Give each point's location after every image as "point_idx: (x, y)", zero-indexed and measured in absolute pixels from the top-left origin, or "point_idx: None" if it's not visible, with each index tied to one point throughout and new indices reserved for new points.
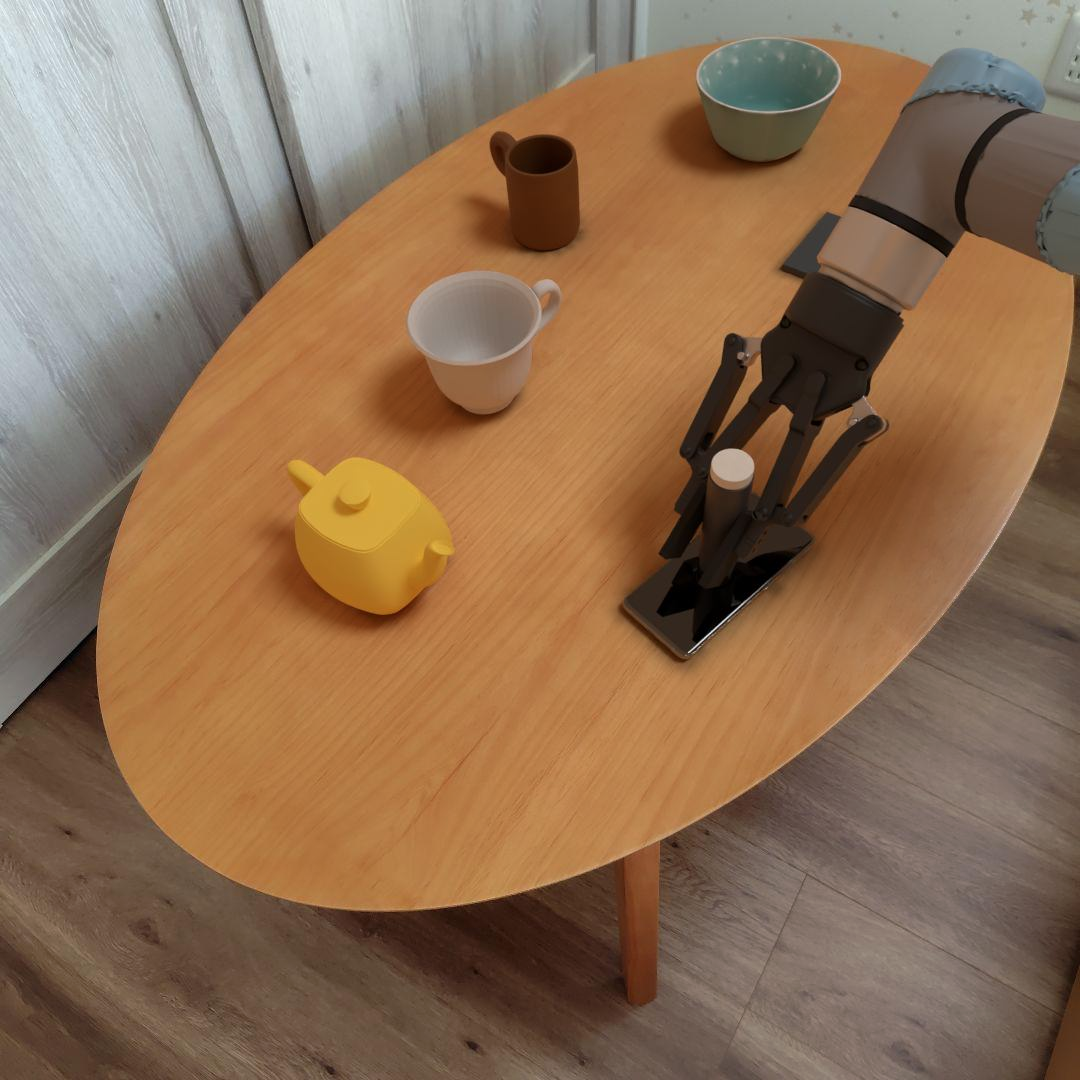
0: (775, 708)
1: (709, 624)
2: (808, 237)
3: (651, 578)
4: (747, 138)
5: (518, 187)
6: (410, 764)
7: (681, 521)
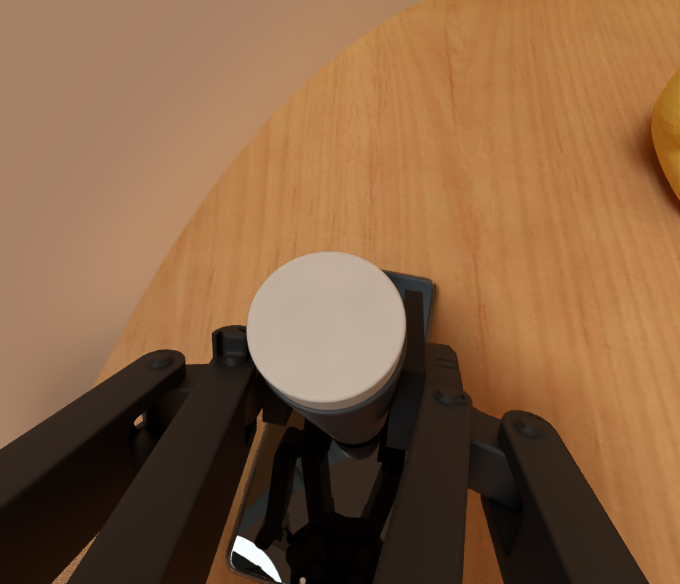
0: (201, 276)
1: None
2: None
3: (425, 333)
4: None
5: None
6: (488, 61)
7: (416, 320)
